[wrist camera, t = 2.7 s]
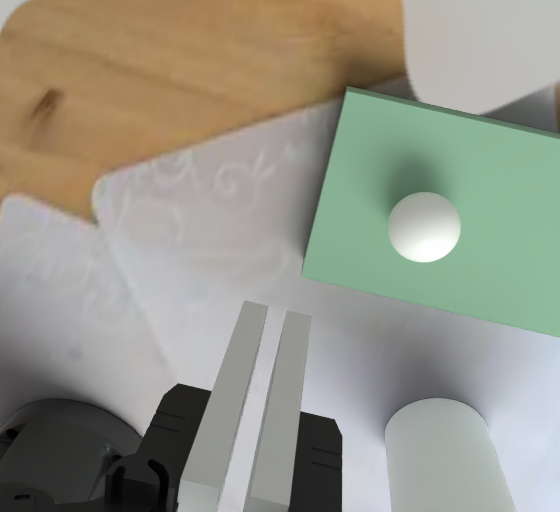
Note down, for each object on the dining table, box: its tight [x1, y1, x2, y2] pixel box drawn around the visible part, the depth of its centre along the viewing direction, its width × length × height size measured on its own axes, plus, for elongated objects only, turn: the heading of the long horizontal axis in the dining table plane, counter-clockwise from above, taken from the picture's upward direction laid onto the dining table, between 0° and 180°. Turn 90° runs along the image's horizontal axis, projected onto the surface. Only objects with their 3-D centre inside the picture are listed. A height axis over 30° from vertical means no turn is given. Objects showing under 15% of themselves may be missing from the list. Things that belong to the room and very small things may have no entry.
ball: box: [387, 192, 461, 262], centre depth 28 cm, size 4×4×4 cm
